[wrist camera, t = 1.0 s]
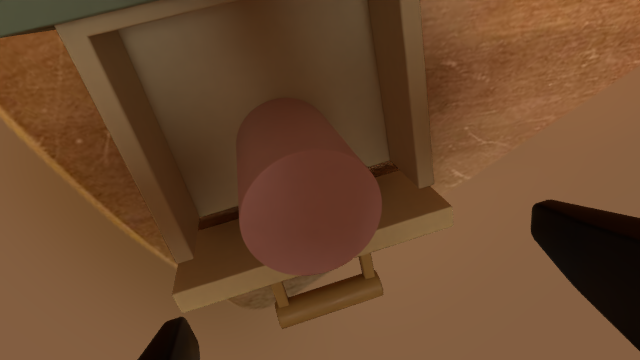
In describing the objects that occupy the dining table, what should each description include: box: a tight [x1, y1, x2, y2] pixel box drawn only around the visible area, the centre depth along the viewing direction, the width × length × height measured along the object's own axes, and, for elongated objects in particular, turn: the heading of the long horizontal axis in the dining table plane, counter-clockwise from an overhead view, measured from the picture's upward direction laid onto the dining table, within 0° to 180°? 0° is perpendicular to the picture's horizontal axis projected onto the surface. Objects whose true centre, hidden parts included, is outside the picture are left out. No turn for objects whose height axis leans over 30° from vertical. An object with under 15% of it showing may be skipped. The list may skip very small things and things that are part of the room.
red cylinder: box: [236, 98, 382, 276], centre depth 15 cm, size 5×5×7 cm
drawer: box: [54, 0, 453, 329], centre depth 18 cm, size 17×13×5 cm
